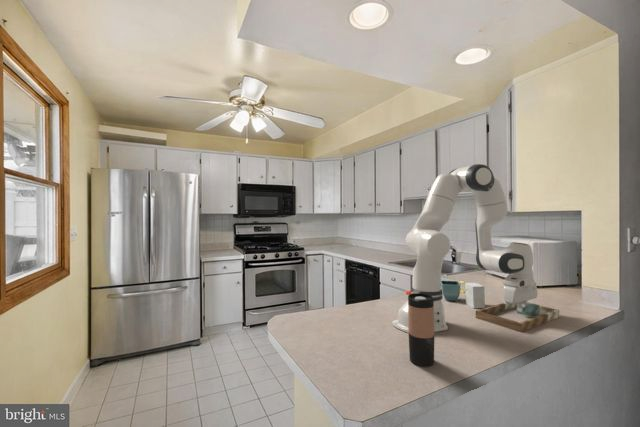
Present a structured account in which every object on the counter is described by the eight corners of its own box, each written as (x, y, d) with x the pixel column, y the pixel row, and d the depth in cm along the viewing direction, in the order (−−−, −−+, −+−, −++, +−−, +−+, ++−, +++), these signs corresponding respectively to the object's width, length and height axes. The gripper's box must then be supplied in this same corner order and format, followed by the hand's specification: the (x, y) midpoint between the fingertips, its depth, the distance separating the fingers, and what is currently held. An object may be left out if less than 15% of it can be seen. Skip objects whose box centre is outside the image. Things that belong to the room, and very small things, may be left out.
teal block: (531, 317, 126) (530, 307, 126) (516, 313, 131) (516, 303, 131) (539, 315, 128) (539, 305, 128) (525, 311, 134) (525, 301, 134)
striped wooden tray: (520, 332, 111) (520, 324, 111) (475, 317, 126) (475, 310, 126) (559, 317, 126) (559, 310, 126) (514, 305, 141) (514, 299, 141)
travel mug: (428, 354, 94) (427, 293, 94) (439, 367, 87) (438, 299, 87) (405, 355, 94) (404, 293, 94) (413, 367, 86) (412, 300, 86)
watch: (457, 291, 170) (456, 281, 170) (460, 291, 171) (460, 280, 171) (465, 293, 164) (464, 282, 165) (469, 292, 165) (468, 282, 166)
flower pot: (442, 301, 150) (442, 284, 150) (440, 296, 159) (440, 280, 159) (461, 302, 148) (460, 285, 148) (458, 297, 156) (457, 281, 156)
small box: (485, 308, 138) (484, 286, 138) (473, 308, 138) (473, 286, 139) (476, 303, 146) (476, 282, 146) (465, 303, 146) (464, 282, 147)
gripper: (525, 275, 135) (526, 305, 135) (500, 281, 125) (501, 313, 125) (541, 277, 130) (542, 308, 130) (516, 283, 120) (516, 317, 120)
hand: (521, 311), depth 128 cm, fingers closed
